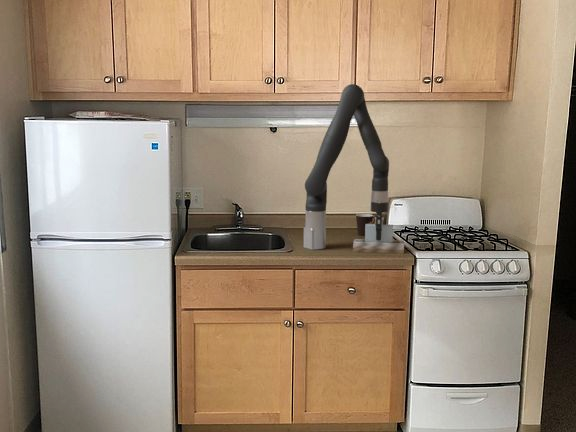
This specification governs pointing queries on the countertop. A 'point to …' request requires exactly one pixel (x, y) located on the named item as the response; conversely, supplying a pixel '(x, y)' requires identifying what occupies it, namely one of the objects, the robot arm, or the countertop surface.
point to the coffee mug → (363, 222)
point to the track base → (378, 246)
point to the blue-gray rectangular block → (385, 234)
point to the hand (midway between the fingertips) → (378, 239)
